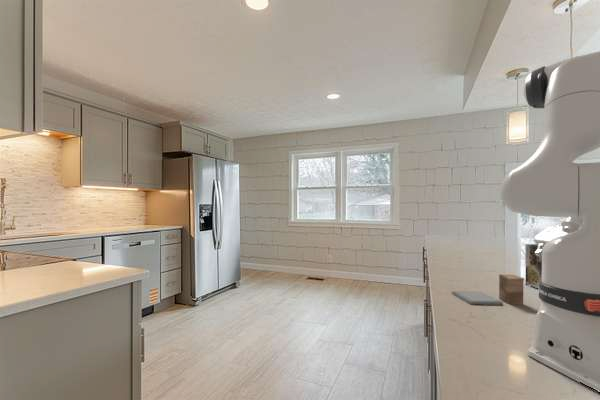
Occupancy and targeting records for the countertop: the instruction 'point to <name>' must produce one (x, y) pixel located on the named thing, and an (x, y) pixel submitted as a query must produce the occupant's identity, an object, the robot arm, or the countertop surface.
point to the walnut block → (511, 289)
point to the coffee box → (533, 265)
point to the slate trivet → (477, 298)
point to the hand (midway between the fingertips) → (549, 257)
